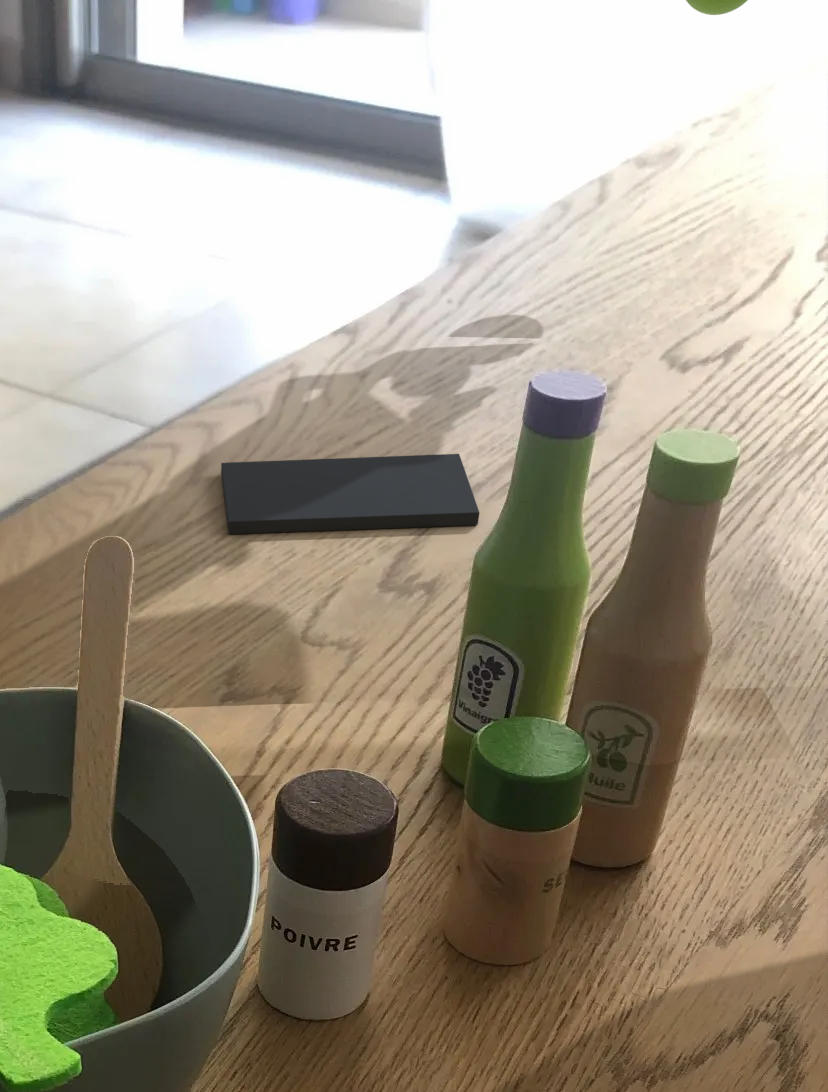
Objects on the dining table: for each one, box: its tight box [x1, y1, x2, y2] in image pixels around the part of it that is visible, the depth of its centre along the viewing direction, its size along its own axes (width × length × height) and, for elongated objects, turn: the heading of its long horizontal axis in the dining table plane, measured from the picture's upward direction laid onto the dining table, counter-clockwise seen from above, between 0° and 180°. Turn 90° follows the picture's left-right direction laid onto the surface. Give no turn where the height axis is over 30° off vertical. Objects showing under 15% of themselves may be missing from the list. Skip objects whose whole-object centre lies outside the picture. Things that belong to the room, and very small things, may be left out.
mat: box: [220, 453, 480, 535], centre depth 94 cm, size 14×7×1 cm, turn 90°
